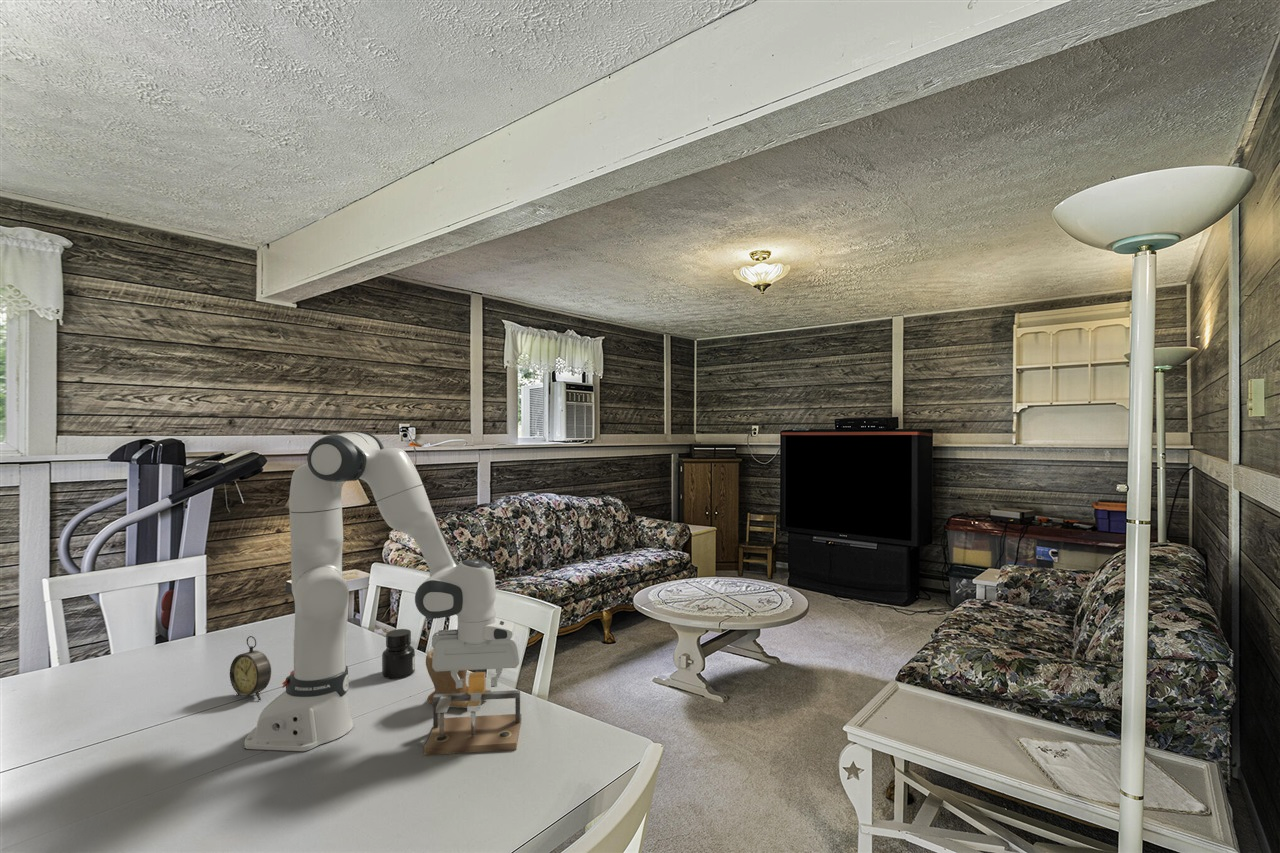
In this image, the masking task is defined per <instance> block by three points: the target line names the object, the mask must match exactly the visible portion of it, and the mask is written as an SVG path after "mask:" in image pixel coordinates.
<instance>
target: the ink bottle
mask: <svg viewBox="0 0 1280 853" xmlns="http://www.w3.org/2000/svg"><path fill="white" fill-rule="evenodd" d="M411 642H412V631H411V630H410V629H407V628H399V629H393V630H389V631H388V632H386V633H385V647H386V648H385V650H384V651H383V652H382V655H381V671H382V672H381V674H382V677H384V679H385V678H386V679H390V680H398V679H403V678H406V677H409V676H411V675H412V674H413V673H415V670H416V654H415V653H416V651H415V648H414V647H413V646H412V645H411V644H412V643H411Z"/></svg>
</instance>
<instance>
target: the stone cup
mask: <svg viewBox="0 0 1280 853" xmlns="http://www.w3.org/2000/svg"><path fill="white" fill-rule="evenodd" d="M433 652H434V648H432V649H431V650H430V651H429V652H428V653H427V654H426V656H425V666H426V670H427V673H428V675H429V678H430V679H431V682H432V684H433V686H434V687H433V688H434V691H432V692H431V693H430V694H429V695H428V696H427V698H426V699H427V700H426V701H427V702H429V703H430V704H432V705H433V697H434V695H435V694H453V693H469V685H467V683H466V682H467V674H468V673H467V671H468V670H459V671H458V673H457V674H458V676H459V678H460V679H463V688H461V689H456V682H455V681H454V679H453V678H452V676H451V671H435V670H434V669H433V668H432V660H433ZM485 692H492V690H491V689H485ZM485 701H486V700H482V701H481V704H482V703H484V702H485ZM468 704H469V701H452V702H451V704H450V706H449V708H450V707H451V708H452V707H453V708H460V709H467V706H468Z"/></svg>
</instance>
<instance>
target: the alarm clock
mask: <svg viewBox="0 0 1280 853" xmlns="http://www.w3.org/2000/svg"><path fill="white" fill-rule="evenodd" d="M250 638H251V639H253V640H254V646H252V645H251V646H250V645H249V639H250ZM246 644H247V647H248V649H249V650H248V652H244V653H240V654H238V655H236V656H235V658H234V659H233V660H232V662H231V663H230V668H229V680H230V681H229V682H230V684H231V686H232V689H233V691H234V692H236V693H235V694H236V695H235V696H237V694H239V695H238V696H241V697H249V696H251V695H255V696H256V698H257V700H258V701H261V696H260V693H261V692H262V691H263V690H265V689H266V688H267V686H268V685H269V683H270V680H271V677H272V666H271V663H270V660H269V658H268V657H267V655H266V654H264V653H263V652H262V651H260V650H254V648H256V647H257V639H256V638H255V637H254V636H253V635H249V636H248V637H247V639H246ZM259 692H260V693H259Z"/></svg>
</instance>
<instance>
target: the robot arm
mask: <svg viewBox="0 0 1280 853" xmlns="http://www.w3.org/2000/svg"><path fill="white" fill-rule="evenodd" d="M306 460H307V462H306V463H304V464H301V465H299V466H298V467H297V468H295V470H294V471H293V473H292V475H291V479H290V480H291V481H290V488H289V497H288V498H289V501H288V502H289V503H288V506H289V531H290V533H289V534H290V568H291V569H290V571H291V572H290V573H291V574H290V575H291V592H292V596H293V600H294V633H293V634H294V635H293V670H292V671H291V672H290V673H289V675H288V676H286V678H285V680H283V682H282V683H281V685H282V687H281V688H282V689H284V688H285V690H284V691H283V692H282V693H280V695H278V696H277V697H276V698H274V699H273V700H272V701H271V702H269V703H268V704H267V705H266V706H265V707H264V708H263V710H261V713H260V714H259V716H258V719H257V722H256V727H254V728H253V729H252V730H251V731H250V732H249V733H248V734H247V736H246V737H245V739H244V744H243V747H244V749H245V748H246V750H267V751H286V752H287V751H288V752H289V751H290V752H292V751H293V752H306V751H310V750H312V749H314V748H316V747H317V746H319V745H322V744H326V743H329V742H332V741H335V740H337V739H339V738H341V737H343V736H344V735H346V734H348V733H349V732H350V731H351V730H352V729H353V728H354V725H355V722H354V719H353V716H352V714H351V709H350V708H351V707H350V704H349V697H348V691H349V684H350V683H349V681H350V679H349V678H350V677H349V676H350V675H349V668H348V665H347V629H348V628H347V626H348V616H349V602H350V601H349V600H350V589H349V586H348V583H347V582H346V580H345V579H344V576H343V549H344V548H343V546H344V523H343V505H342V504H343V502H342V501H343V500H342V489H343V486H344V484H345V483H346V482H354V481H358V480H362V481H364V482H365V483H367V485H368V486H369V488H370V491H371V493H372V496H373V498H374V501H375V503H376V505H377V509H378V510H379V513H380V516H381V517H382V518H383V520H384V522H386V524H387V526H388V527H390V528H391V529H393V530H396V531H399V532H401V533H404V534H406V535H408V536H409V537H411V538H413V540H414V541H415V542H416V544H417V545H418V548H419V549H420V552H421V554H422V556H423V559H424V560H425V562H426V563H425V564H426V565H427V567H428V569H429V577H428V578H427V579H425V581H423V582H422V583H421V584H419V586H418V588H417V589H416V592H415V596H414V604H415V607H416V609H417V610H418V612H419V613H420V614H421V615H422V616H423V617H425V618H427V619H435V620H436V619H442V618H448V617H451V616H452V617H453V616H457V629H448V630H447V629H439V630H438V631H437V632H435V633H434V634H433V635H432V637H431V647H432V649H434V652H433V660H432V668H433V669H434V670H435V671H451V676H452V678H453V679H454V681H455V682H456V689H461V688H463V679H460V678H459V676H458V674H457V673H458V671H459V670H467V671H478V670H481V671H482V670H495V673H496V675H495V676H492V677H491V678H490V687H491V688H497V687H498V686H499V685H498V684H499V678H500V677H501V675H502V673H503V670H504V669H516V668H517V667H518V666H519V665H520V663H521V648H520V642H519V638H518V636H517V635H516V633H515V631H516V628H515V623H514V622H513V621H510V620H506V619H503V618H499V617H497V612H496V608H495V602H496V601H495V600H496V599H497V598H496V597H497V593H496V592H497V590H496V586H497V585H496V576H495V575H496V574H495V571H494V569H493V568H494V567H493V566H492V565H491V564H490V563H489V562H486V561H484V560H481V559H478V558H477V559H474V558H472V559H464V560H462V561H461V562H460V563H459V562H458V561H457V560H456V558H455V557H454V555H453V553H452V551H451V549H450V546H449V544H448V542H447V540H446V538H445V535H444V534H443V531H442V529H441V527H440V525H439V523H438V521H437V519H436V516H435V513H434V510H433V509H432V506H431V502H430V499H429V497H428V495H427V494H428V493H427V492H426V488H425V486H424V484H423V481H422V479H421V477H420V474H419V472H418V470H417V468H416V466H415V465H414V462H413V461H412V459H411V458H410V456H409V455H408V453H407V452H406V451H405V450H404V449H403V448H399V447H394V446H393V447H392V446H391V447H385V446H384V445H383V443H382V441H381V440H380V439H379V438H378V437H376V436H375V435H373V434H371V433H368V432H364V431H359V432H355V431H353V432H352V431H348V432H347V431H344V432H341V433H338V434H329V435H326V436H323V437H321V438H320V439H317V440H316V441H315V442H314V443H313V444H312V445H311V447H310V448H309V450H308V453H307V458H306Z"/></svg>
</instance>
